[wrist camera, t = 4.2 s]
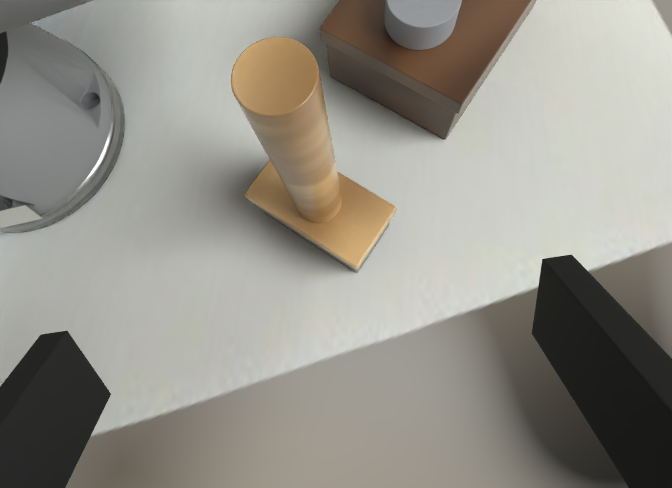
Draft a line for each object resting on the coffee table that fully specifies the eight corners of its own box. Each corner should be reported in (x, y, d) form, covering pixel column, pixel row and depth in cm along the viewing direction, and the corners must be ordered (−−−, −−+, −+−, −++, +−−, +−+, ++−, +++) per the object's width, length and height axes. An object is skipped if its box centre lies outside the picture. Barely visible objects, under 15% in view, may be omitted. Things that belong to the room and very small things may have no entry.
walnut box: (324, 76, 31) (316, 26, 26) (417, -51, 33) (426, -120, 28) (446, 143, 30) (462, 104, 24) (537, 5, 31) (570, -58, 26)
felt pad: (371, 30, 26) (371, 6, 24) (408, -21, 27) (411, -49, 25) (431, 62, 25) (437, 39, 23) (468, 8, 26) (476, -18, 24)
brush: (259, 213, 29) (131, 67, 13) (294, 164, 30) (211, -32, 14) (358, 277, 28) (347, 200, 12) (392, 224, 29) (427, 83, 12)
